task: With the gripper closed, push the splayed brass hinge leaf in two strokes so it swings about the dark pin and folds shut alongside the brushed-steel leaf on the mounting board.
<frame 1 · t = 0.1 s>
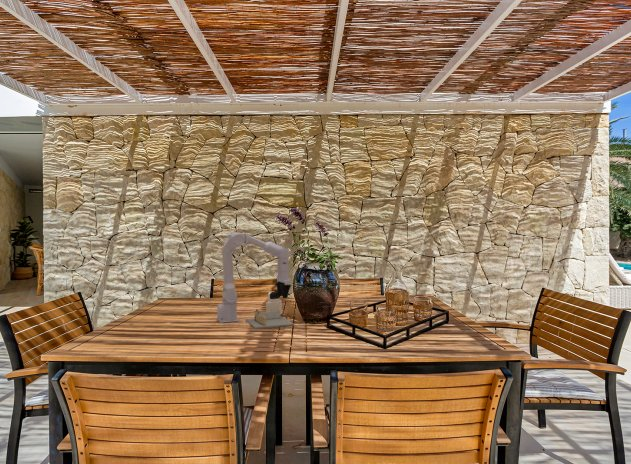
hand: (283, 297, 241), 10 cm above the table, fingers open, 6 cm apart
medicine bottle: (274, 315, 246), on the table, touching gripper
fixed leaf: (257, 322, 228), resting on board
swing leaf: (261, 317, 224), point 3 cm above the table, hinge at 8.0°
board: (269, 323, 226), on the table
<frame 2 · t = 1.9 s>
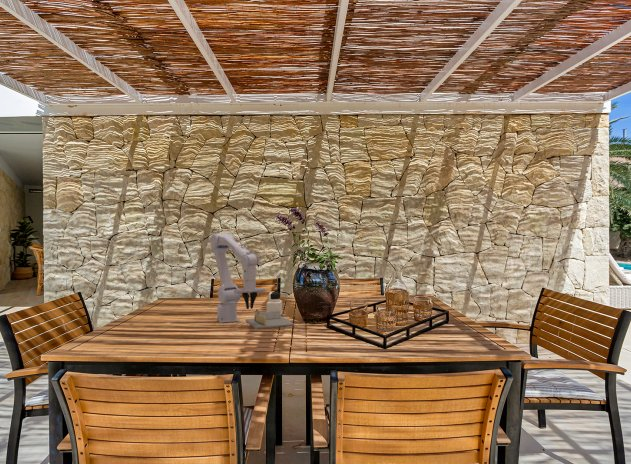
hand: (249, 308, 219), 8 cm above the table, fingers closed
medicine bottle: (274, 315, 246), on the table
everything else where it was.
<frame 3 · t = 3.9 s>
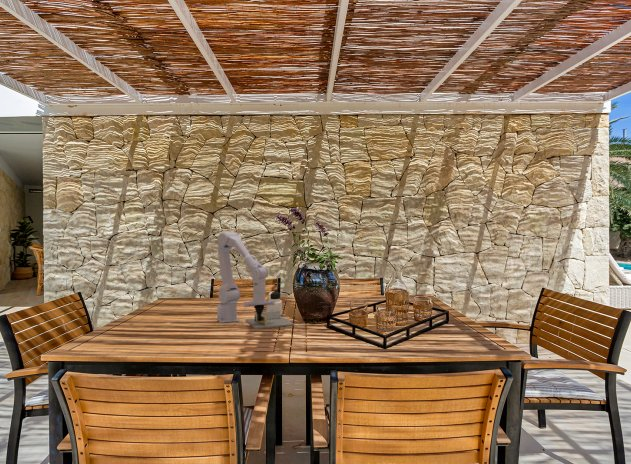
hand: (259, 320, 221), 2 cm above the table, fingers closed, pressing on swing leaf
swing leaf: (261, 317, 224), point 3 cm above the table, hinge at 9.8°, touching gripper
everything else where it was.
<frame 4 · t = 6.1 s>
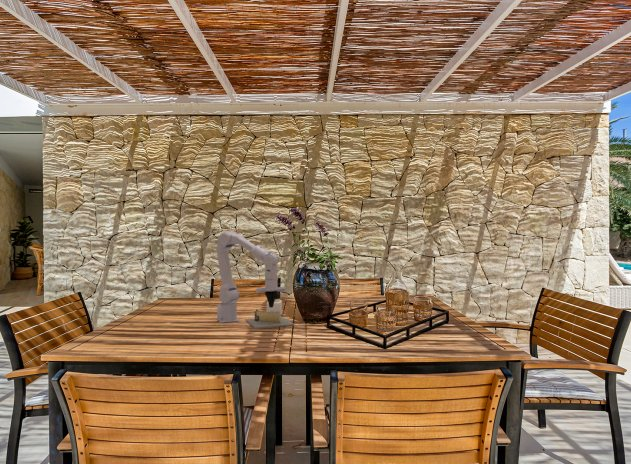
hand: (271, 307, 223), 8 cm above the table, fingers closed
swing leaf: (267, 316, 227), point 3 cm above the table, hinge at 54.2°
everything else where it was.
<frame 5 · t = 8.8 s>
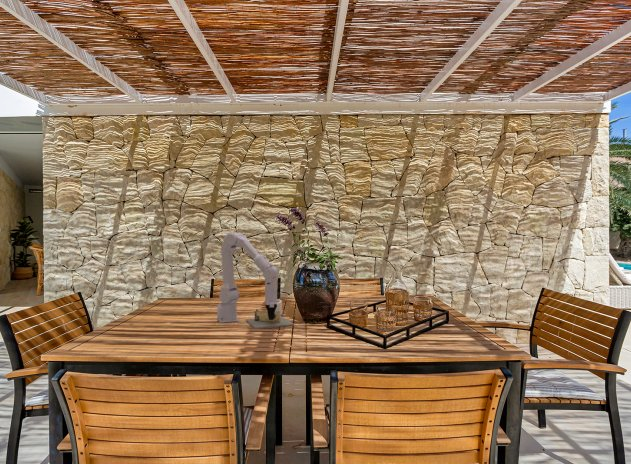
hand: (271, 319, 224), 2 cm above the table, fingers closed, pressing on swing leaf
swing leaf: (267, 316, 227), point 3 cm above the table, hinge at 54.5°, touching gripper
everything else where it was.
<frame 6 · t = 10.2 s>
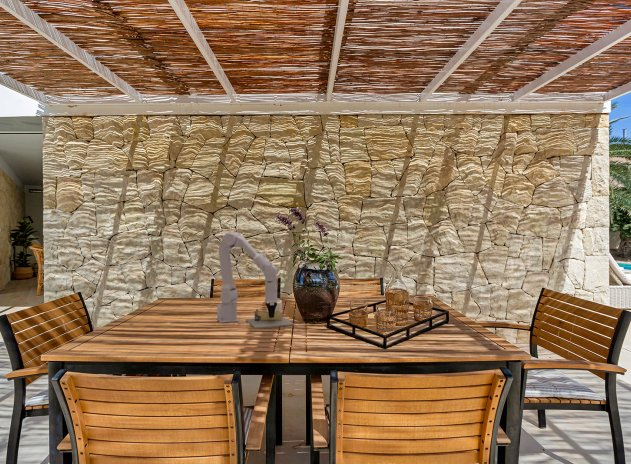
hand: (271, 317, 227), 2 cm above the table, fingers closed
swing leaf: (268, 315, 229), point 3 cm above the table, hinge at 77.4°, touching gripper
everything else where it was.
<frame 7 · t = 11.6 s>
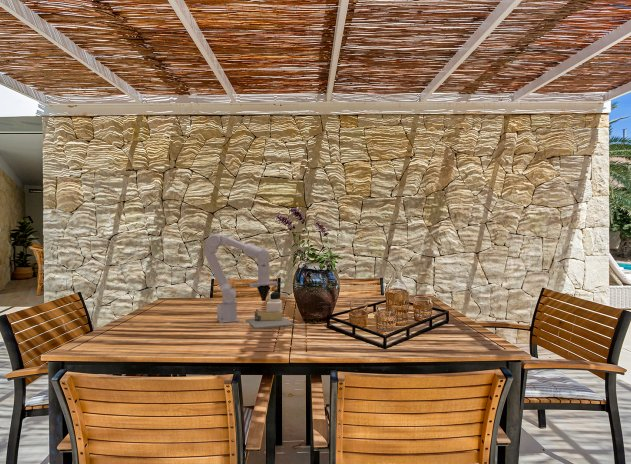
hand: (263, 300, 233), 10 cm above the table, fingers closed
swing leaf: (268, 315, 229), point 3 cm above the table, hinge at 77.6°
everything else where it was.
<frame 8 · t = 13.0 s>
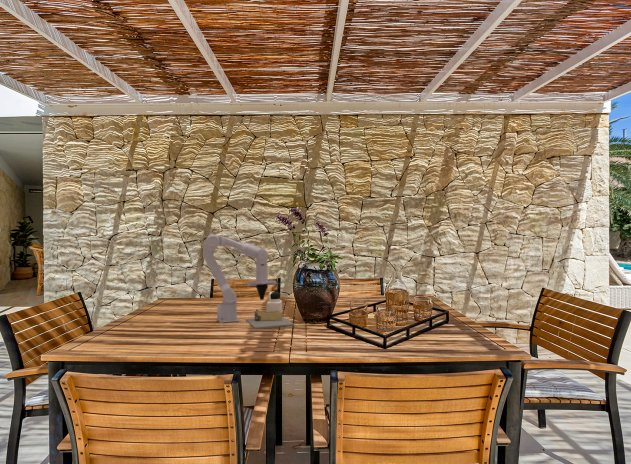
hand: (261, 299, 235), 10 cm above the table, fingers closed
nothing on the table moved.
at the end: swing leaf at +78° (first picture: +8°); swing leaf touching nothing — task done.
